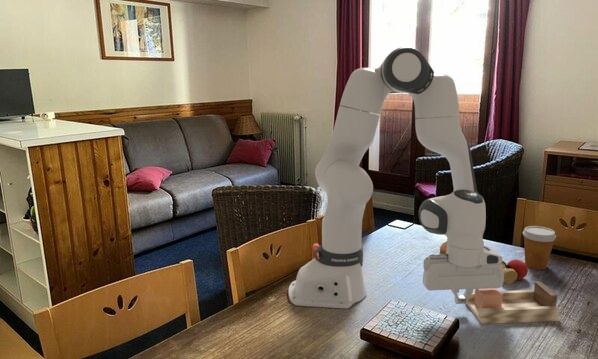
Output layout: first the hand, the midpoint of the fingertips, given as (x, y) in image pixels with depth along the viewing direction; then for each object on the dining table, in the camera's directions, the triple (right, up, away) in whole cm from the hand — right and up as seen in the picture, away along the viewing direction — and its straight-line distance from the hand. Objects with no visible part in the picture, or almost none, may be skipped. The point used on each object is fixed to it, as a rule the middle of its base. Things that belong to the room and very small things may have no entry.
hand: (460, 302), depth 120 cm
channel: (+13, -2, +1) cm, 13 cm away
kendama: (+18, +2, +19) cm, 26 cm away
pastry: (+11, +7, +41) cm, 42 cm away
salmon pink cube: (+7, -1, +1) cm, 7 cm away
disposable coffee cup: (+34, +4, +28) cm, 44 cm away
